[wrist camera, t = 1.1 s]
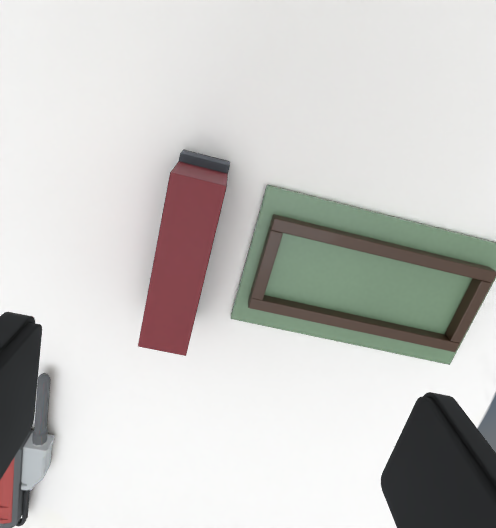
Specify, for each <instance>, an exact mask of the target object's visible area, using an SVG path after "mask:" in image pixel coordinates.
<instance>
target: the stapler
mask: <svg viewBox="0 0 496 528" xmlns="http://www.w3.org/2000/svg"><path fill="white" fill-rule="evenodd" d="M229 166H230V162H229V161H226V160H222V159H218V158H214V157H210V156H206V155H202V154H198V153H195V152H191V151H187V150H183V151H182V152H181V153H180V157H179V162H178V163H177V165H176V166H175V167H174V169H173V170H172V171H171V172H170V177H169V182H168V188H167V193H166V198H165V204H164V209H163V215H162V220H161V225H160V231H159V236H158V241H157V247H156V252H155V257H154V263H153V268H152V273H151V279H150V284H149V290H148V295H147V300H146V306H145V311H144V316H143V322H142V327H141V332H140V338H139V343H138V346H139V347H144V348H149V349H154V350H159V351H164V352H169V353H174V354H180V355H185V356H186V353H187V349H188V345H189V341H190V337H191V332H192V328H193V324H194V320H195V316H196V312H197V307H198V303H199V299H200V295H201V291H202V287H203V283H204V278H205V274H206V270H207V266H208V262H209V258H210V253H211V249H212V245H213V241H214V237H215V233H216V228H217V224H218V220H219V216H220V212H221V208H222V203H223V199H224V195H225V191H226V187H227V175H228V170H229Z"/></svg>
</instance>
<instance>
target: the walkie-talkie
mask: <svg viewBox="0 0 496 528" xmlns="http://www.w3.org/2000/svg"><path fill="white" fill-rule="evenodd" d="M49 389H50V377H49V375H47V374H46V373H44V374H41V375H40V376H39V377H38V385H37V400H36V414H35V429H34V430H33V431H32V430H31V429H30V432H29V434H28V436H27V437H26V439H25V441H24V442H23V444H22V445H21V447H20V449H19V450H18V452H17V454H16V455H15V457H14V459H13V460H12V462H11V464H10V465H9V467H8V468H7V470H6V472H5V473H4V475H3V477H2V478H1V480H0V528H12V527H14V526H15V525H16V526H21V525H23V524H24V523H25V521H26V519H27V517H28V505H29V492H30V491H31V490H32V489H33V487H34V485H36V484H37V483H38V482H40V481H41V480H42V479H43V478H44V476H45V474H46V472H47V470H48V468H49V466H50V463H51V452H52V445H53V443H54V435H49V434H48V429H47V416H48V403H49ZM21 516H22V518H21Z"/></svg>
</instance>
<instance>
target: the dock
mask: <svg viewBox="0 0 496 528" xmlns="http://www.w3.org/2000/svg"><path fill="white" fill-rule="evenodd" d="M495 278H496V242H492V241H488V240H484V239H480V238H476V237H472V236H468V235H464V234H460V233H456V232H452V231H448V230H444V229H441V228H437V227H433V226H429V225H425V224H421V223H417V222H413V221H409V220H405V219H401V218H397V217H393V216H389V215H385V214H381V213H377V212H373V211H369V210H365V209H361V208H357V207H354V206H350V205H346V204H342V203H338V202H334V201H330V200H326V199H322V198H318V197H314V196H310V195H306V194H302V193H298V192H294V191H290V190H286V189H282V188H278V187H274V186H271V185H267V187H266V190H265V194H264V197H263V201H262V205H261V208H260V212H259V216H258V219H257V223H256V226H255V230H254V234H253V237H252V241H251V244H250V248H249V252H248V255H247V259H246V263H245V266H244V270H243V273H242V277H241V281H240V284H239V288H238V291H237V295H236V299H235V302H234V306H233V309H232V313H231V319H234V320H239V321H244V322H249V323H253V324H258V325H263V326H268V327H273V328H277V329H282V330H287V331H292V332H296V333H301V334H306V335H311V336H315V337H320V338H325V339H330V340H334V341H339V342H344V343H349V344H354V345H358V346H363V347H368V348H373V349H377V350H382V351H387V352H392V353H396V354H401V355H406V356H411V357H415V358H420V359H425V360H430V361H435V362H439V363H444V364H449V365H450V363H451V361H452V360H453V358H454V356H455V354H456V352H457V350H458V348H459V346H460V344H461V343H462V341H463V339H464V337H465V335H466V333H467V331H468V329H469V327H470V326H471V324H472V322H473V320H474V318H475V316H476V314H477V312H478V311H479V309H480V307H481V305H482V303H483V301H484V299H485V297H486V295H487V294H488V292H489V290H490V288H491V286H492V284H493V282H494V280H495Z"/></svg>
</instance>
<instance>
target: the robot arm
mask: <svg viewBox="0 0 496 528" xmlns="http://www.w3.org/2000/svg"><path fill="white" fill-rule="evenodd" d="M41 335H42V326H41V325H40V324H35V320H34V318H33V317H32V316H27V315H22V314H16V313H11V312H5V313H4V314H2V315H1V316H0V480H1V478H2V477H3V475H4V473H5V472H6V470H7V468H8V467H9V465H10V464H11V462H12V460H13V459H14V457H15V455H16V454H17V452H18V450H19V449H20V447H21V445H22V444H23V442H24V441H25V439H26V437H27V436H28V434H29V432H30V429H31V427H32V424H33V420H34V412H35V401H36V390H37V379H38V368H39V357H40V346H41ZM381 487H382V491H383V493H384V496H385V498H386V501H387V503H388V506H389V508H390V511H391V513H392V516H393V519H394V521H395V524H396V526H397V528H496V453H495V451H494V450H493V449H492V448H491V446H490V445H489V444H488V442H487V441H486V440H485V438H484V437H483V436H482V434H481V433H480V432H479V431H478V429H477V428H476V427H475V425H474V424H473V423H472V421H471V420H470V419H469V417H468V416H467V415H466V414H465V412H464V411H463V410H462V408H461V407H460V406H459V404H458V403H457V402H456V400H455V399H454V398H453V397H450V396H446V395H441V394H436V393H431V392H429V393H426V394H425V395H424V396H423V397H420V398H418V400H417V401H416V403H415V405H414V407H413V409H412V412H411V414H410V416H409V418H408V420H407V422H406V424H405V426H404V429H403V431H402V433H401V435H400V437H399V439H398V441H397V443H396V445H395V448H394V450H393V452H392V454H391V456H390V458H389V460H388V462H387V464H386V467H385V469H384V471H383V473H382V476H381Z"/></svg>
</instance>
